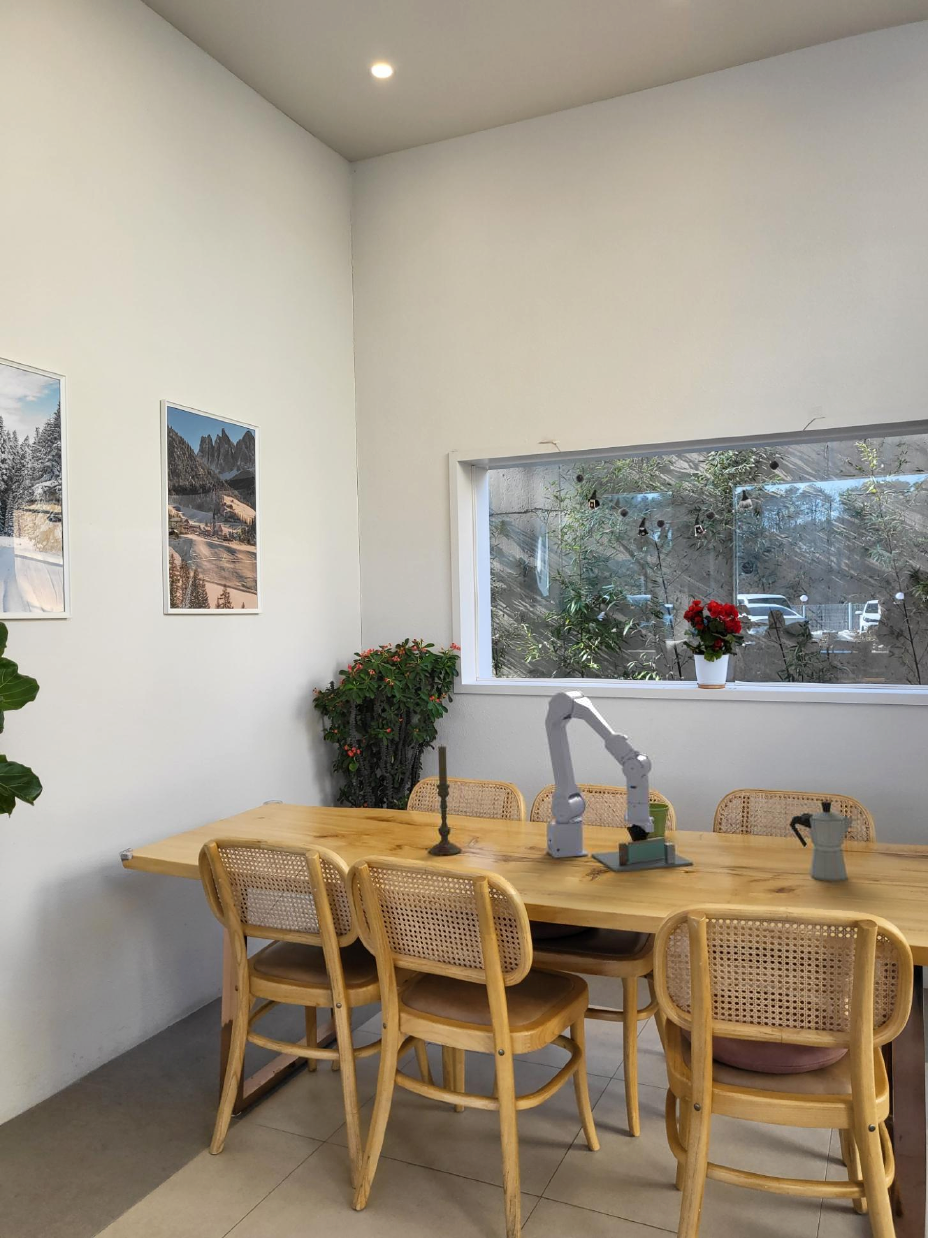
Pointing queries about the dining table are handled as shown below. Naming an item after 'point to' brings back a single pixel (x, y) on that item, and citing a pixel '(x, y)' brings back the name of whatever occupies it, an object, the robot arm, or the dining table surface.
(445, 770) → the candlestick holder
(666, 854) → the dark grey rectangular block
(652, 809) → the plant pot
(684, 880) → the dining table surface
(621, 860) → the hinge post
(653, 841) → the gate
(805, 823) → the coffee maker
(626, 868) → the slate mat
